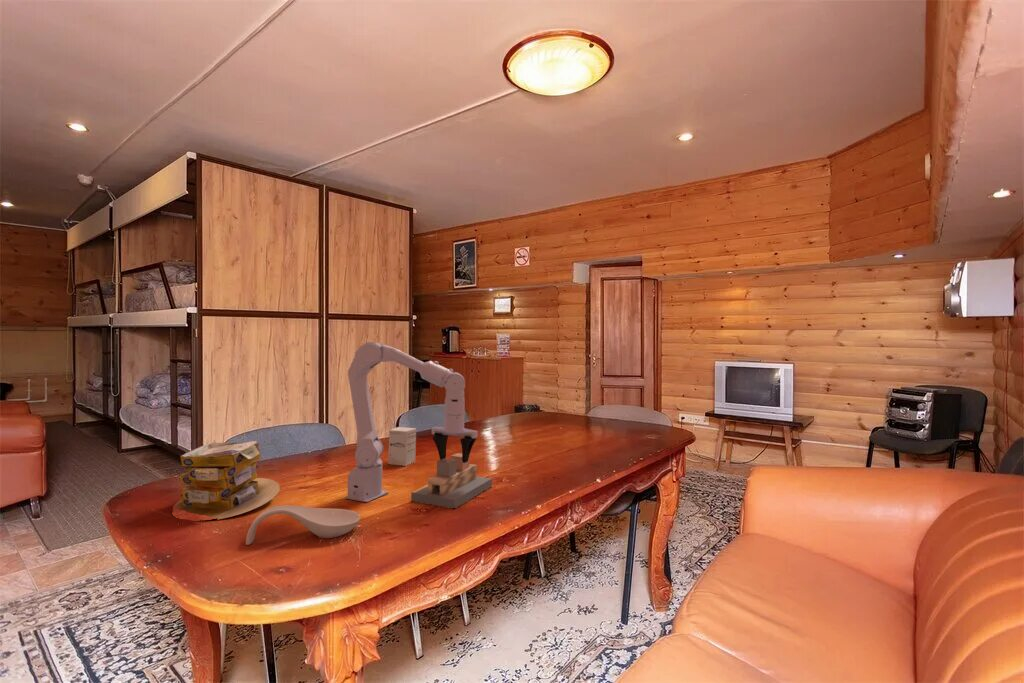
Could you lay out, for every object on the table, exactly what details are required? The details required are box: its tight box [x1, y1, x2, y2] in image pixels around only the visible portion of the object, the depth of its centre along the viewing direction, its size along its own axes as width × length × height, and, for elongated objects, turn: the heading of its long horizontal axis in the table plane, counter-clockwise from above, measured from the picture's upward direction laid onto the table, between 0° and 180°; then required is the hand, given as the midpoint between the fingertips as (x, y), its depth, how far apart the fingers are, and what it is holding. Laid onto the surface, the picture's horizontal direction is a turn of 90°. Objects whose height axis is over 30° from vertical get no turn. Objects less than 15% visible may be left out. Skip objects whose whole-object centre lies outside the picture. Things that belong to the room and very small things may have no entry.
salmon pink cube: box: [450, 452, 470, 471], centre depth 143 cm, size 4×4×4 cm
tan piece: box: [427, 463, 478, 496], centre depth 139 cm, size 19×5×4 cm, turn 156°
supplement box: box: [388, 426, 417, 467], centre depth 174 cm, size 7×7×13 cm
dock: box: [410, 476, 493, 509], centre depth 139 cm, size 22×14×3 cm, turn 156°
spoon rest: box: [245, 504, 361, 546], centre depth 108 cm, size 24×12×7 cm, turn 111°
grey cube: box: [436, 458, 456, 477], centre depth 136 cm, size 4×4×4 cm
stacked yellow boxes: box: [172, 440, 281, 520], centre depth 128 cm, size 25×25×17 cm
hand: (453, 460), depth 139 cm, fingers open, 7 cm apart
